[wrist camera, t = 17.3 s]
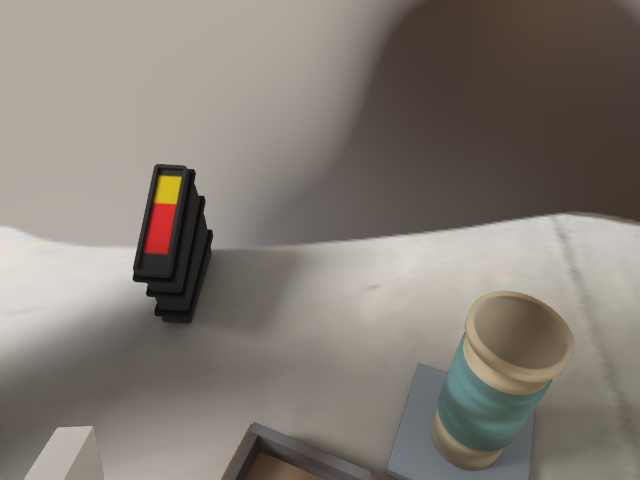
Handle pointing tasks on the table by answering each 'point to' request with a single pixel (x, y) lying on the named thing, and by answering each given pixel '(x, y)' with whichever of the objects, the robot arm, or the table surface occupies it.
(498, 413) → the disc
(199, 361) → the table surface
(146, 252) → the magazine
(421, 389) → the rubber mat
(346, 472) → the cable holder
